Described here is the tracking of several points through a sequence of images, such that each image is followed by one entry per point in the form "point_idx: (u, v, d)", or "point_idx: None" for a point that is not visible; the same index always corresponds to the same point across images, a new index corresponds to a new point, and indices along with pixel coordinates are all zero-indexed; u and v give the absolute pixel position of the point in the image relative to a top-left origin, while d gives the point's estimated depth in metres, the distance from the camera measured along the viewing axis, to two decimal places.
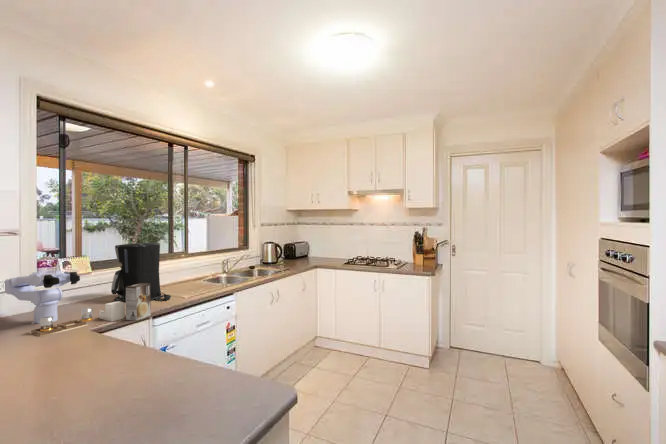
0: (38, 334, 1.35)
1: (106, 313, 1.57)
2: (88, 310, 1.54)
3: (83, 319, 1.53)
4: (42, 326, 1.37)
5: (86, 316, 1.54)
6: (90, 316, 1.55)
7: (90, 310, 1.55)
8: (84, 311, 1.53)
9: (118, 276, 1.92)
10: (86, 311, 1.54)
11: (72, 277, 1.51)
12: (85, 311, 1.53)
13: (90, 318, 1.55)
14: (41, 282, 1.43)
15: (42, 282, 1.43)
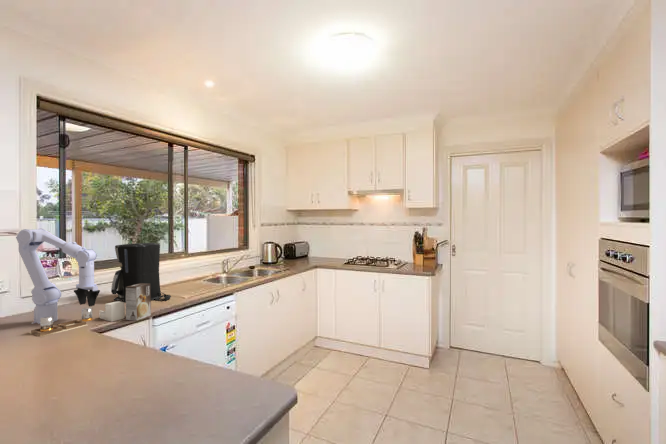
0: (38, 334, 1.35)
1: (106, 313, 1.57)
2: (88, 310, 1.54)
3: (83, 319, 1.53)
4: (42, 326, 1.37)
5: (86, 316, 1.54)
6: (90, 316, 1.55)
7: (90, 310, 1.55)
8: (84, 311, 1.53)
9: (118, 276, 1.92)
10: (86, 311, 1.54)
11: (83, 293, 1.57)
12: (85, 311, 1.53)
13: (90, 318, 1.55)
14: None
15: (94, 290, 1.52)
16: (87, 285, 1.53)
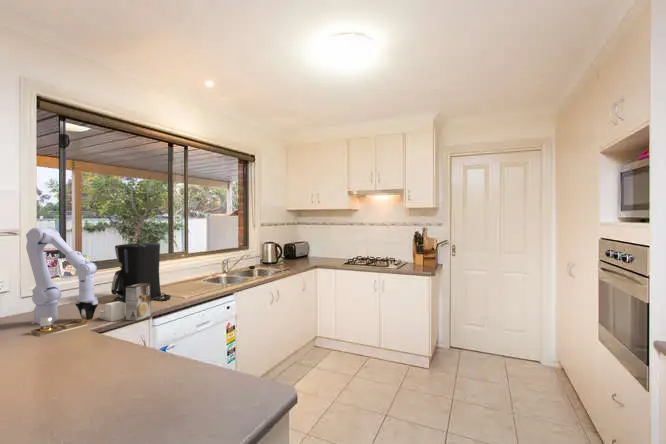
0: (38, 334, 1.35)
1: (106, 313, 1.57)
2: None
3: (83, 319, 1.53)
4: (42, 326, 1.37)
5: None
6: None
7: None
8: (84, 311, 1.53)
9: (118, 276, 1.92)
10: None
11: None
12: None
13: None
14: None
15: (94, 304, 1.52)
16: (87, 299, 1.53)
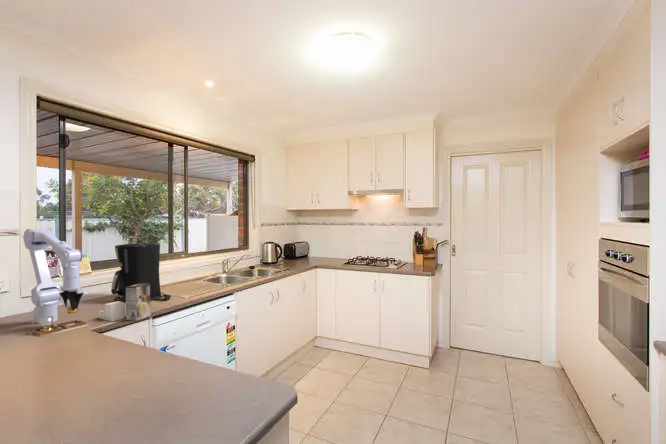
0: (38, 334, 1.35)
1: (106, 313, 1.57)
2: None
3: (68, 309, 1.46)
4: (42, 326, 1.37)
5: None
6: None
7: None
8: None
9: (118, 276, 1.92)
10: None
11: None
12: None
13: None
14: None
15: (78, 293, 1.44)
16: (72, 287, 1.45)
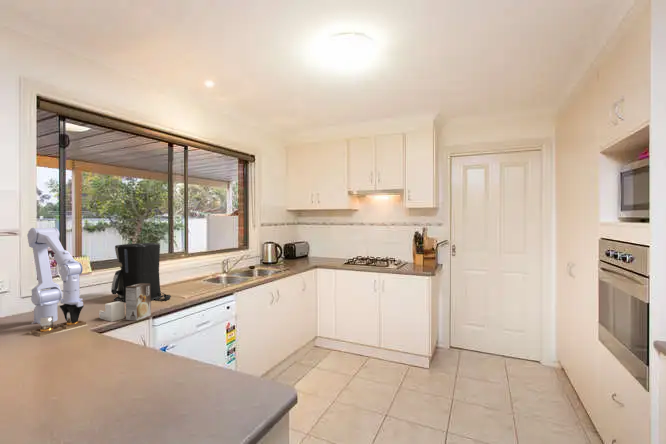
0: (38, 334, 1.35)
1: (106, 313, 1.57)
2: None
3: (68, 323, 1.46)
4: (42, 326, 1.37)
5: None
6: None
7: None
8: None
9: (118, 276, 1.92)
10: None
11: None
12: None
13: (76, 322, 1.47)
14: None
15: None
16: (72, 300, 1.45)
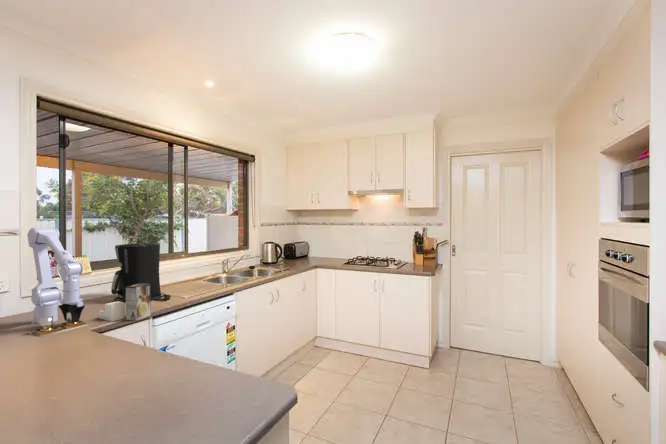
0: (38, 334, 1.35)
1: (106, 313, 1.57)
2: None
3: (68, 323, 1.46)
4: (42, 326, 1.37)
5: (71, 320, 1.46)
6: None
7: None
8: (69, 315, 1.46)
9: (118, 276, 1.92)
10: None
11: (69, 308, 1.49)
12: (70, 315, 1.46)
13: (76, 322, 1.47)
14: None
15: None
16: (72, 300, 1.45)
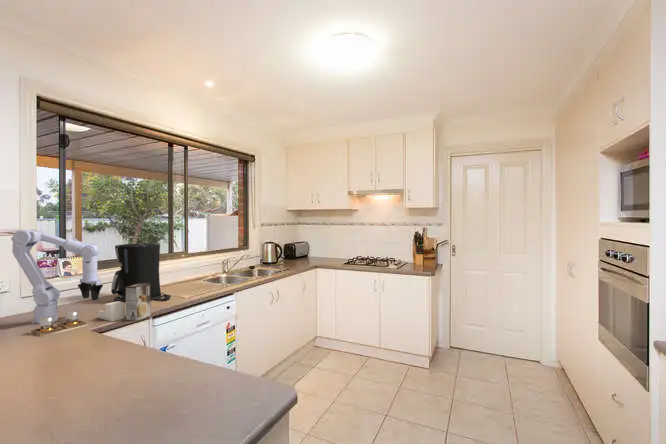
0: (38, 334, 1.35)
1: (106, 313, 1.57)
2: (74, 313, 1.46)
3: (68, 323, 1.46)
4: (42, 326, 1.37)
5: (71, 320, 1.46)
6: (76, 320, 1.47)
7: (76, 313, 1.47)
8: (69, 315, 1.46)
9: (118, 276, 1.92)
10: (72, 315, 1.46)
11: (86, 287, 1.61)
12: (70, 315, 1.46)
13: (76, 322, 1.47)
14: None
15: (97, 285, 1.56)
16: (90, 279, 1.57)
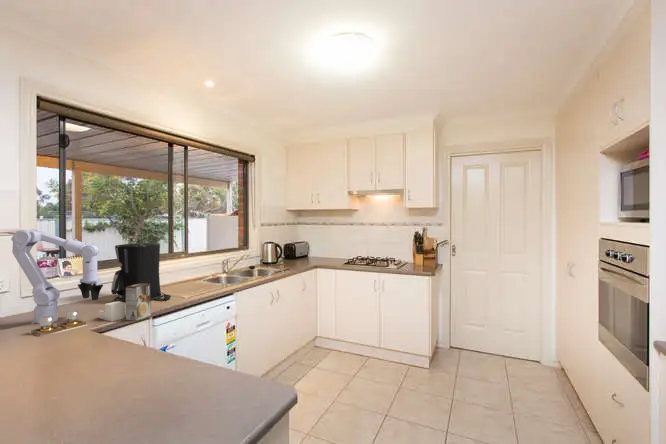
0: (38, 334, 1.35)
1: (106, 313, 1.57)
2: (74, 313, 1.46)
3: (68, 323, 1.46)
4: (42, 326, 1.37)
5: (71, 320, 1.46)
6: (76, 320, 1.47)
7: (76, 313, 1.47)
8: (69, 315, 1.46)
9: (118, 276, 1.92)
10: (72, 315, 1.46)
11: (87, 287, 1.61)
12: (70, 315, 1.46)
13: (76, 322, 1.47)
14: None
15: (97, 285, 1.56)
16: (90, 279, 1.57)
